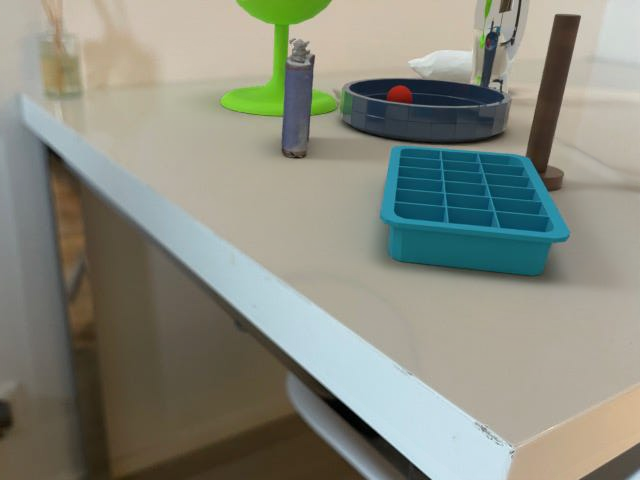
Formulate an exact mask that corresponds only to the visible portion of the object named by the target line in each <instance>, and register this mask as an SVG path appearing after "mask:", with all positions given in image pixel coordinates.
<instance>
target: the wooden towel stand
mask: <svg viewBox="0 0 640 480" xmlns="http://www.w3.org/2000/svg"><path fill="white" fill-rule="evenodd" d="M581 19H582V15H581V14H576V13H575V14H573V13H555V14H554V16H553V22H552V26H551V32H550V36H549V41H548V45H547V50H546V55H545V60H544V66H543V69H542V75H541V79H540V84H539V90H538V94H537V98H536V102H535V103H536V104H535V109H534V113H533V117H532V122H531V128H530V133H529V137H528V141H527V146H526V151H525V157H527V158H530V160H531V162H532V164H533V165H534V167H535V169H536V171H537V173H538V174H539V176H540V178H541V180H542V182H543V183H544V185H545V187H546V189H547V191H548V192H551V191H555V190H559V189H561V188H562V185H563V180H564V176H565V172H564V171H563V170H562V169H560V168H558V167H556V166H553V165H550V164H549V161H550V158H551V157H550V156H551V152H552V148H553V143H554V139H555V134H556V130H557V126H558V122H559V117H560V112H561V107H562V103H563V99H564V95H565V90H566V86H567V81H568V78H569V74H570V73H569V72H570V67H571V64H572V59H573V56H574V55H573V54H574V51H575V46H576V43H577V42H576V41H577V37H578V32H579V28H580V23H581Z"/></svg>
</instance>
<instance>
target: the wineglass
mask: <svg viewBox="0 0 640 480" xmlns="http://www.w3.org/2000/svg"><path fill="white" fill-rule="evenodd" d="M332 1H333V0H235V2H236V3H237V5H238V6H239V7H240V8H242V9H243V11H245V12H246V13H248V14H249V15H250V16H251V17H253V18H255V19H257V20H258V21H259V20H260V21H261V22H263V23H265V24H268V25H269V24H271V25H274V32H273V61H272V76H271V78H270V79H269V81H268V82H267V83H266V84H265V85H257V86H255V85H254V86H246V87H240V88H236V89H232V90H230V91H227V92H226V93H225V94H224V95H223V96H222V98H221V99H220V105H221V106H222V107H224V108H226V109H228V110H231V111H235V112H239V113H243V114H244V113H245V114H250V115H260V116H269V117H270V116H272V117H283V105H284V82H285V63H286V59H287V58H288V57H289V40H290V39H289V36H290V25H291V26H292V25H299V24H301V23H303V22H306V21H308V20H311V19H313V18H315V17H316V16H317V15H319V14H320V13H321V12H323V11H324V10H325V9H327V8H328V6H329V5H330V4H331V2H332ZM337 108H338V104H337V100H336V98H335V97H334V96H332V95H331V94H329V93H328V92H324V91H321V90H317V89H313V88H312V103H311V115H310V116H314V115H320V114H327V113H330V112H332V111H334V110H336V109H337Z"/></svg>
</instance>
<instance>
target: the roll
mask: <svg viewBox="0 0 640 480" xmlns="http://www.w3.org/2000/svg"><path fill="white" fill-rule="evenodd" d="M407 65H408V66H409V67H410V69H411V70H412V71H413V72H415V73H416V74H418V75H419V76H420V77H421V78H423V79H437V80H438V79H439V80H448V81H458V82H465V83H469V81H470V76H471V68H472V51H467V50H453V49H440V50H436V51H434V52H430V53H429V54H426V55H425V56H424V57H416V58H413V59H411V60H409V61H408V62H407Z"/></svg>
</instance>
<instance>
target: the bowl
mask: <svg viewBox="0 0 640 480" xmlns="http://www.w3.org/2000/svg"><path fill="white" fill-rule="evenodd" d="M396 86H404V87H407V88H408V89H409V90H410V92H411V94H412V102H411V104H405V103H397V102H389V101H387V94H388V92H389V91H390V90H391V89H392V88H394V87H396ZM340 98H341V99H340V110H339V116H340V118H341V120H342V121H344V122H345V123H347V124H349V126H351V127H352V128H354V129H356V130H357V131H361V132H363V133H366V134H371V135H375V136H379V137H382V138H383V137H384V138H388V139H394V140H401V141H409V142H411V141H412V142H421V143H440V144H441V143H446V144H449V143H450V144H451V143H468V142H476V141H482V140H486V139H489V138H491V137H494V136H495V135H499V134H501V133H503V132H504V131H505V130H506V129H507V127H508V121H509V117H510V112H511V106H512V102H513V99H512V95H510V94H509V93H508V94H507V93H505V92H503V91H501V90H497V89H494V88H491V87H487V86H482V85H477V84H471V83H465V82H458V81H448V80H439V79H438V80H437V79H424V78H423V77H421V78H420V77H375V78H364V79H358V80H352V81H350V82H347V83H344V85H343V86H342V87H341V97H340Z"/></svg>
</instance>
